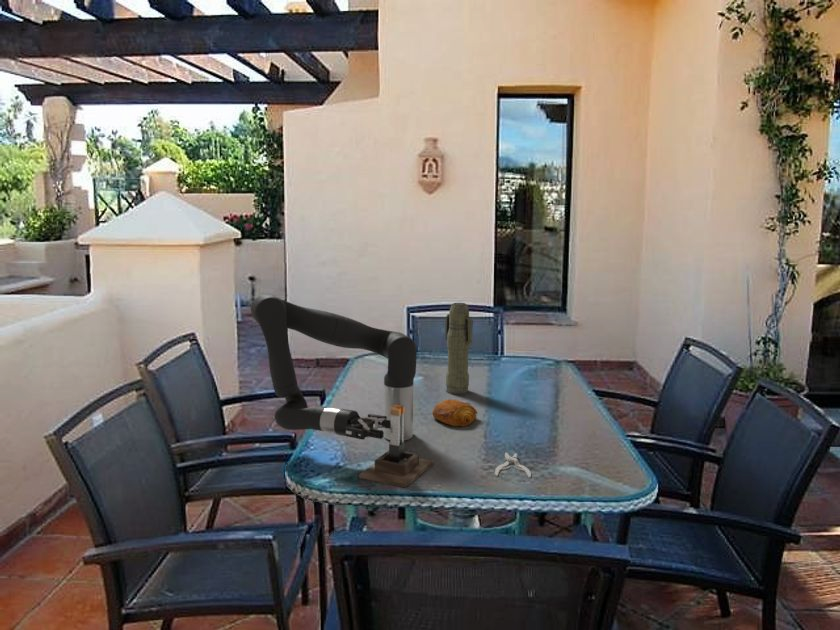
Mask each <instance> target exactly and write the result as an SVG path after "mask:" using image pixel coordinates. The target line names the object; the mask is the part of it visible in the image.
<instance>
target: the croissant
mask: <svg viewBox="0 0 840 630" xmlns="http://www.w3.org/2000/svg"><path fill="white" fill-rule="evenodd" d="M477 415H478V410H477V409H476V408H475V407H474V406H473V405H471V404H469V403H467V402H464V401H462V400H461V401H460V400H456V399H451V398H449V399H445V400H442V401H440V402H439V403H437V404H436V405H434V406H433V409H432V416H433V417H434V418H435V419H436V420H437V421H440V422H442V423H443V424H447V425H450V426H453V427H467V426H469V425H471V424H473V423H474V422H475V421H476V419H477Z"/></svg>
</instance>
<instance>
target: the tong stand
mask: <svg viewBox="0 0 840 630" xmlns="http://www.w3.org/2000/svg"><path fill="white" fill-rule="evenodd" d="M405 459H407V460H406V461H405V462H404V463H402V464H400V463H395V462H390V461H389V450H387V451H386V452H384V453H383V454H382V455H380V456H379V457H378V458H376V459H375V460H374V463H372V465H371V466H370V465H369V467H367V468H366V469H364V471H362V472H360V473H359V474H358V475H359V477H358V478H359V479H364V480H367V481H372V482H378V483H383V484H387V485H392V486H397V487H398V486H399V487H402V488H407V487H408V486H410V485H411V484H412V483H413V482H415V480H416V479H418V478H419V476H421V475H422V474H423V473H424V472H426V471H427V470H428V469H429V468H430V467H432V466H433V465H434V460H431V459H426V458H420V453H416V452H411V451H410V452H409V451H406V450H405Z"/></svg>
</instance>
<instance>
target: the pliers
mask: <svg viewBox="0 0 840 630" xmlns="http://www.w3.org/2000/svg"><path fill="white" fill-rule="evenodd" d="M517 456H518V454H517V453H513V455H512V456H511V455H509V453H508V452H504V459H505V462H504V463H501V464H499V465H497V466H496V468H495V469H494V474H495V477H499V473H500V471H505V470H508V469H510V468H511V465H512V464H514V466H513V468H514V469H516V470H519V471H522V472H525V474H526V475H527V477H528V478H529V479H530V478H531V476H532V473H531V471H530V469H529V468H528V467H526V466H525V465H523V464H520V462H519V460H518V458H517ZM510 464H511V465H510Z"/></svg>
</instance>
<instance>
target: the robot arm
mask: <svg viewBox="0 0 840 630" xmlns="http://www.w3.org/2000/svg"><path fill="white" fill-rule="evenodd" d="M250 313H251V316H252V318H253V319H254V321H255V322H256V323H257V324H258V325H259V327H260V330H261V331H262V334H263V336H264V339H265V344H266V347H267V348H266V349H267V355H268V356H267V357H268V365H269V367H268V368H269V373H270V378H271V382H272V387H273V391H274V393H275V396H277V397H279V398H284V399H285V403H284V404H282V405H281V406H279V407H278V408H277V409H276V411H275V413H274V420H275V423H276V424H277V425H278V426H279V427H280V428H282V429H285V430H288V431H289V430H291V431H298V430H299V431H303V430H313V431H314V430H315V431H319V432H325V433H328V434H331V435H336V436H342V437H347V438H353V439H358V440H365V439H366V438H367V439H369V438H370V439H371V438H373V439H379V440H382V439H383V438H384V439H386V440H388V441H390V438H391V415H390V408H391V407H394V405H400V406H405V411H404V438H403V442H405V441H409V440H410V439H412V438H413V433H414V432H413V431H414V428H413V427H414V379H415V377H416V373H417V358H418V356H417V345H416V343H415V341H414V340H413V339H412V338H411V337H409V335H406V334H404V333H402V332H400V331H393V330H386V329H380V328H377V327H371V326H370V325H367V324H365V323H363V322H360V321H358V320H355V319H352V318H350V317H347V316H344V315H340V314H338V313H334V312H330V311H329V312H328V311H325V310H324V311H323V310H321V309H315V308H309V307H305V306H300V305H297V304H294V303H291V302H289V301H287V300H284V299H281V298H280V297H278V296H276V295H274V294H270V293H268V294H267V293H266V294H261V295H259V296H257V297H256V298H254V300H253V301H252V302H251V305H250ZM288 329H289V330H292V331H296V332H298V333H300V334H302V335H305V336H307V337H309V338H311V339H314V340H316V341H319V342H321V343H325V344H328V345H332V346H335V347H338V348H342V349H343V348H344V349H358V350H365V351H368V352H371V353H375V354H377V355H380V356H382V357H384V358H386V359H387V372H386V374H384V377H383V415H379V414H373V413H368V414H367V416H362V417H361V416H360V415H359V412H358V411H356V410H354V409H353V410H352V409H346V408H340V407H330V406H329V407H328V406H322V405H311V406H308V403H307V401H306V399H305V397H304V395H303V392H302V390H301V389H300V387H299V385H298V380H297V375H296V370H295V366H294V362H293V357H292V352H291V349H290V343H289V337H288V336H289V335H288ZM382 429H383V430H382Z"/></svg>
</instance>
